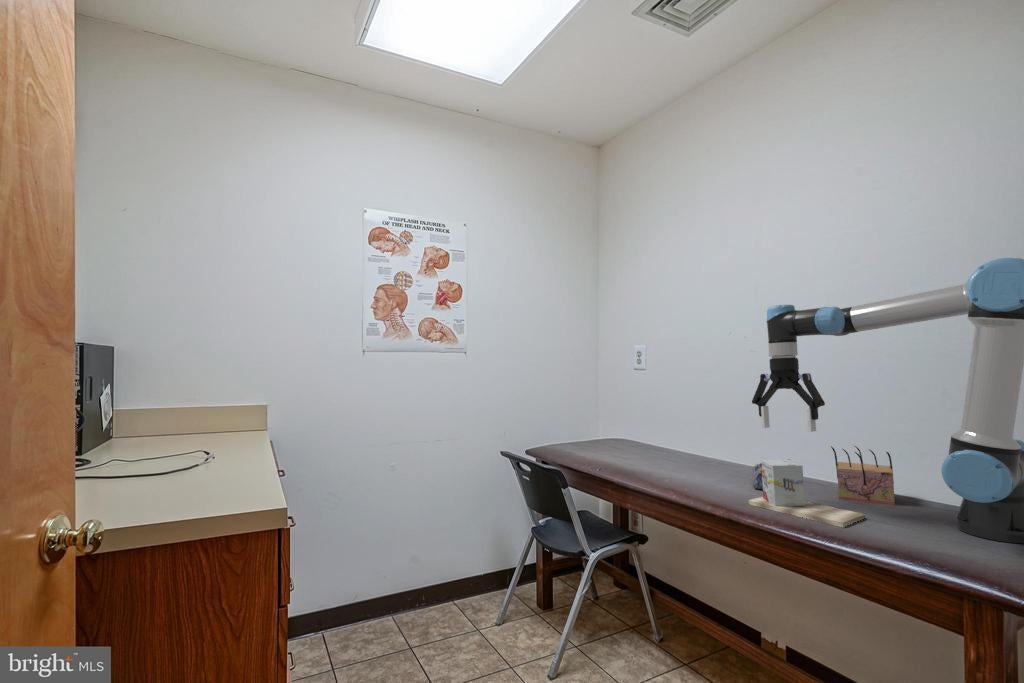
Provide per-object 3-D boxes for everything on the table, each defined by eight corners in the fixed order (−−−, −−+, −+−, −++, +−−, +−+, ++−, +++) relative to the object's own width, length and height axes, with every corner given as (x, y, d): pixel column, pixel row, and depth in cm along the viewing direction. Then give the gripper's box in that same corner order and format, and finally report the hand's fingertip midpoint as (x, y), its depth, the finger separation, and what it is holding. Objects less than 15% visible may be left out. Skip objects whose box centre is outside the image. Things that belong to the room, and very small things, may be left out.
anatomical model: (893, 496, 155) (891, 447, 156) (896, 505, 146) (893, 453, 147) (833, 490, 164) (831, 444, 165) (832, 498, 155) (830, 449, 155)
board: (865, 518, 135) (865, 514, 135) (843, 527, 128) (842, 522, 128) (771, 497, 157) (771, 493, 157) (748, 504, 150) (748, 500, 151)
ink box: (762, 498, 152) (760, 458, 153) (791, 498, 152) (789, 458, 152) (774, 506, 144) (772, 464, 144) (805, 506, 143) (803, 464, 143)
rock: (792, 484, 162) (773, 456, 165) (762, 499, 163) (744, 470, 167) (786, 484, 172) (768, 457, 175) (757, 497, 173) (740, 470, 177)
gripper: (835, 355, 141) (840, 431, 140) (751, 358, 162) (755, 425, 161) (821, 355, 137) (827, 434, 136) (737, 359, 158) (741, 427, 157)
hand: (788, 429), depth 148 cm, fingers open, 13 cm apart
